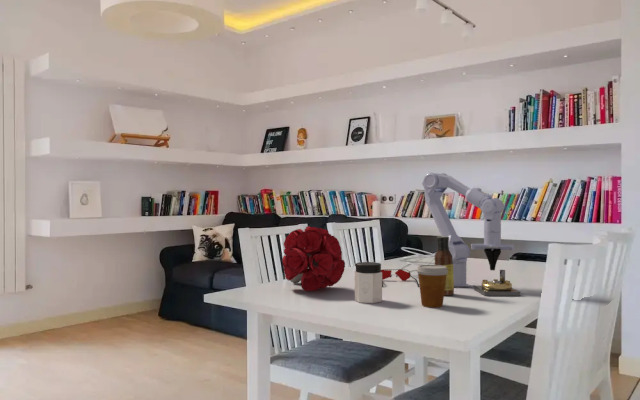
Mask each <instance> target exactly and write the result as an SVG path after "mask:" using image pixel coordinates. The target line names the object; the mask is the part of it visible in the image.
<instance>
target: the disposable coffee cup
mask: <svg viewBox="0 0 640 400" xmlns="http://www.w3.org/2000/svg"><path fill="white" fill-rule="evenodd" d="M415 271H416V273H417V275H418V276H417V277H418V284H419V292H420V293H419V294H420V300H421V306H423V307H426V308H441V307H443V304H444V297H445V295H444V291H445V283H446V275H447V272H448V271H447V267H446V266H441V265H435V264H420V265H418V266H417V269H416V270H415Z"/></svg>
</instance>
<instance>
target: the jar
mask: <svg viewBox="0 0 640 400" xmlns="http://www.w3.org/2000/svg"><path fill="white" fill-rule="evenodd" d="M381 270H382V264H381V262H377V261H376V262H375V261H374V262H373V261H361V262H356V263H355V271H354V300H355V302H358V303H359V304H360V303H361V304H377V303H380V302H381V303H382V302H383V287H382V272H381Z"/></svg>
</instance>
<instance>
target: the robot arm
mask: <svg viewBox="0 0 640 400" xmlns="http://www.w3.org/2000/svg"><path fill="white" fill-rule="evenodd" d="M421 185H422V186H423V190H424V201H425V203H426V206H427V207H428V209H429V212H430V214H431V215H432V218H433V220H434V221H433V222H434V223H435V224H436V227H437V229H438V232H439V234H440V236H448V237H449V241H448V245H449V251H450V253H451V255H452V260H453V276H454V288H455V287H459V288H460V287H462V288H466V287H468V288H469V287H470V286H471V285H469V284H468V283H467V261H468V258H469V257H470V256H471V255H470V254H471V251H472V250H474V251H475V250H484V251H483V252H484V254H485V256H486V259H487V261H488V264H489V270H490V271H496V266H497V262H498V259H499V257H500V255H501V253H502V251H515V244H513V243H511V244H509V243H502V236H501V235H502V214H501V213H502V212H503V211H504V208H505V206H504V203H503V201H502V200H501V199H500V198H498V197H494V198H493V195H491V194H489V193H488V194H487V193H485V192H484V191H482V188H480V187H473V188H470V187H468V186H467V185H466V184H464V183H462V182H461V181H459V180H457V179H456V178H454V177H453V176H451V175H449V174H446V173H442V172H441V173H438V172H437V173H436V172H428V173H426V174H425V176H424V178H423V180H422V183H421ZM448 189H450V190H453V191H455V192H456V193H458V194H460V195H462V196H464V197H465V200H466V201H467V202H468V203H470V204H472V205H473V206H475V207H477V208H478V209H480V211H481V212H482V214H483V243H471V244H470V246H471V247H469V245H468V244H466V243H465V242H464V240H463V238H461V237H460V236H459V235H458V233H457V232H456V230H455V228H454V226H453V224H452V221H451V220H450V218H449V215H448V212H447V211H446V208H445V207H444V204H443V202H442V200H441V198H442V196H443V195H444V193H445V192H446V190H448Z"/></svg>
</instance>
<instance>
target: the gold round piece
mask: <svg viewBox="0 0 640 400" xmlns="http://www.w3.org/2000/svg"><path fill="white" fill-rule="evenodd" d="M512 284H513V283H512V282H511V281H510V280H506V269H499V279H498V278H493V280H488V279H482V282H481V286H482V288H484V289H488V290H499V291H504V290H511V289H512V288H513V285H512Z"/></svg>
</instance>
